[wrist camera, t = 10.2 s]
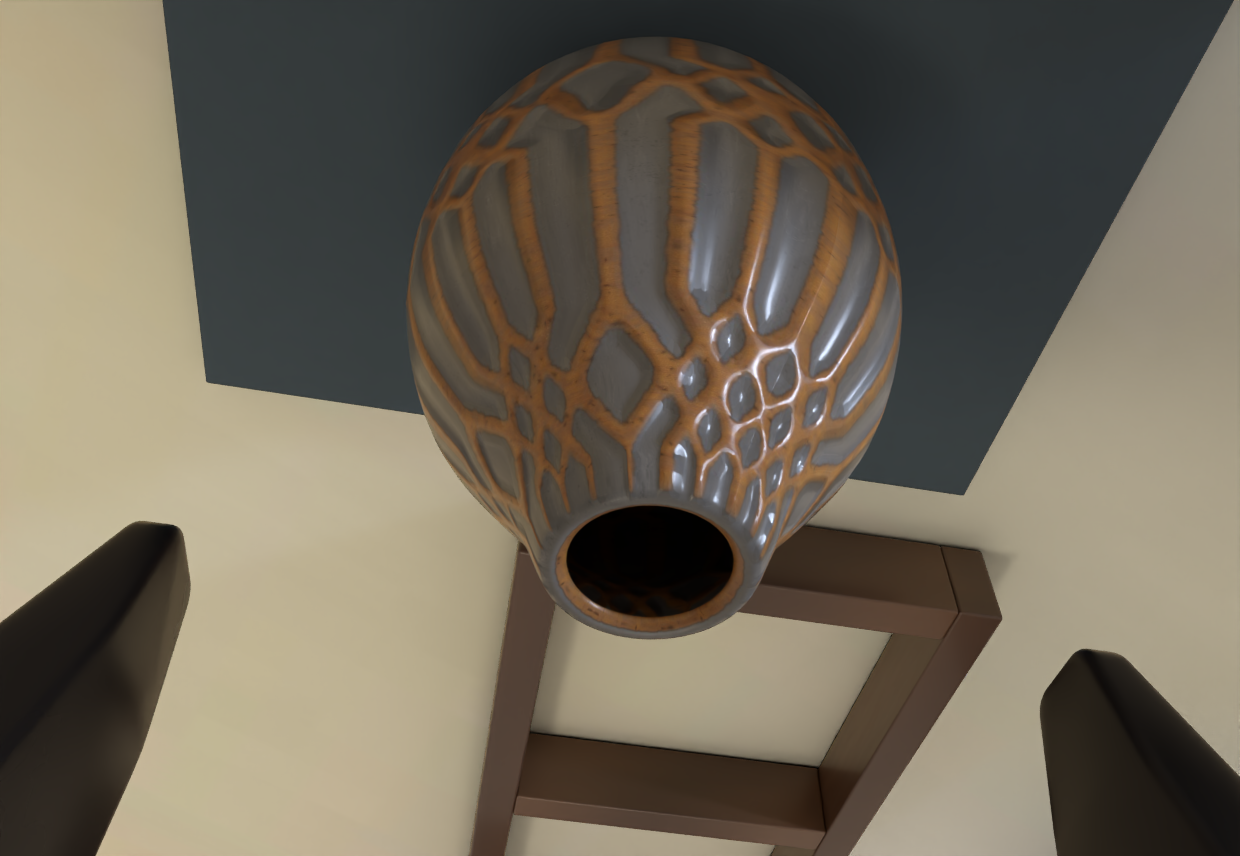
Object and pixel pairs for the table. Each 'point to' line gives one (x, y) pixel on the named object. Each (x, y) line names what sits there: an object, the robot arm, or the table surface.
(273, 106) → the mat
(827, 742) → the table surface
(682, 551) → the vase
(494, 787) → the cup stand
